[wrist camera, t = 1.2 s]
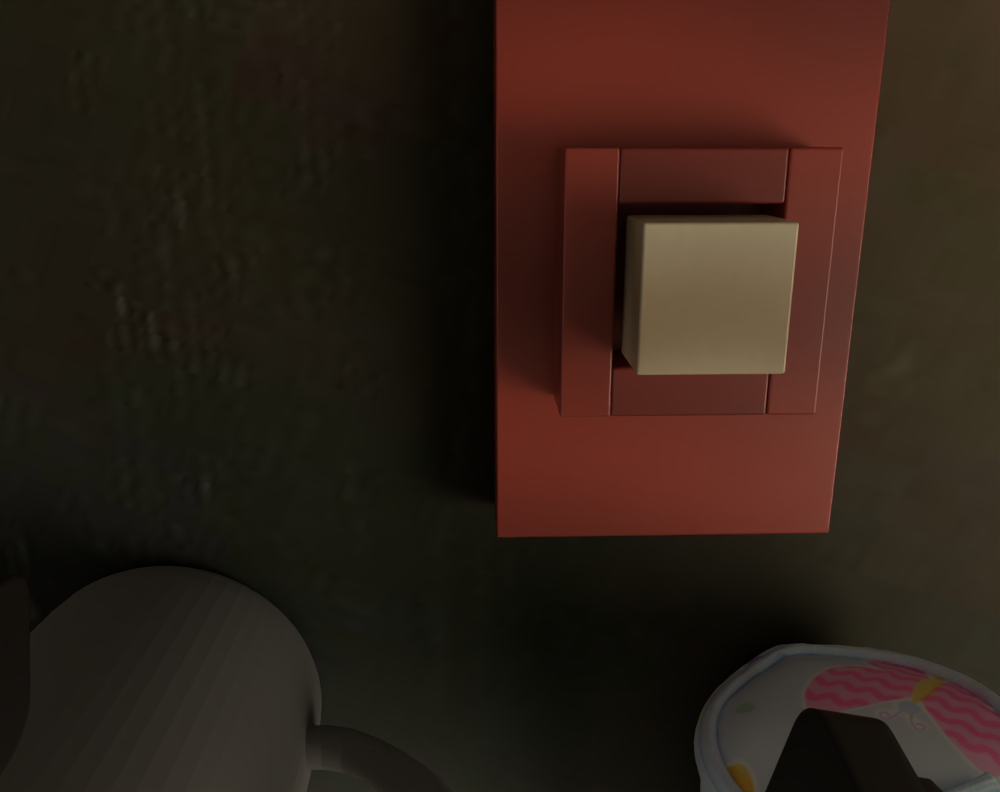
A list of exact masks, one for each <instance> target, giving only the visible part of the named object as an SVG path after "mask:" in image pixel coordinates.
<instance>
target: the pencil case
mask: <svg viewBox="0 0 1000 792" xmlns="http://www.w3.org/2000/svg"><path fill="white" fill-rule="evenodd" d="M807 708H816V709H822V710H828V711H835V712H841V713H847V714H853V715H859V716H866V717H872V718H877V719H880V720H882V721H883V722H885V723H886V724H887V725H888V726H889V728H890V729H891V731H892V732H893V734H894V736H895V737H896V739H897V741H898V743H899V744H900V746H901V748H902V750H903V751H904V753H905V755H906V757H907V758H908V760H909V762H910V764H911V765H912V767H913V769H914V771H915V772H916V774H917V776H918V777H922V778H928V779H931V780H932V781H933V782H934V783H935V784H936V785H937V786H938V787H939V788H940V789H941V790H942V791H943V792H1000V696H998V695H997V694H995V693H994V692H992V691H991V690H989V689H988V688H987V687H985V686H983V685H982V684H980V683H978V682H977V681H975V680H973V679H971V678H969V677H967V676H966V675H964V674H962V673H959V672H957V671H954V670H952V669H949V668H947V667H944V666H942V665H939V664H936V663H932V662H930V661H926V660H923V659H920V658H917V657H913V656H910V655H906V654H902V653H897V652H893V651H889V650H883V649H877V648H870V647H861V646H848V645H818V644H805V643H796V644H782V645H778V646H775V647H772V648H770V649H768V650H766V651H764V652H763V653H761V654H760V655H758V656H756V657H755V658H753V659H752V660H751V661H749V662H748V663H746V664H745V665H743V666H742V667H741V668H740V669H738V670H737V671H736V672H735V673H733V674H732V675H731V676H730V677H728V678H727V679H726V680H725V681H724V682H723V683H722V684H721V685H720V686H719V687H718V688H716V690H715V691H714V692H713V693H712V695H711V696H710V697H709V699H708V700H707V702H706V703H705V705H704V707H703V709H702V711H701V713H700V716H699V719H698V722H697V726H696V729H695V737H694V753H695V760H696V764H697V768H698V772H699V775H700V778H701V781H700V792H765V791H766V789H767V786H768V784H769V781H770V779H771V777H772V774H773V772H774V770H775V767H776V765H777V762H778V760H779V758H780V755H781V753H782V751H783V748H784V746H785V743H786V741H787V739H788V736H789V734H790V732H791V729H792V727H793V724H794V722H795V720H796V718H797V717H798V715H799V714H800V713H801V712H802V711H803V710H805V709H807Z"/></svg>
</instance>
